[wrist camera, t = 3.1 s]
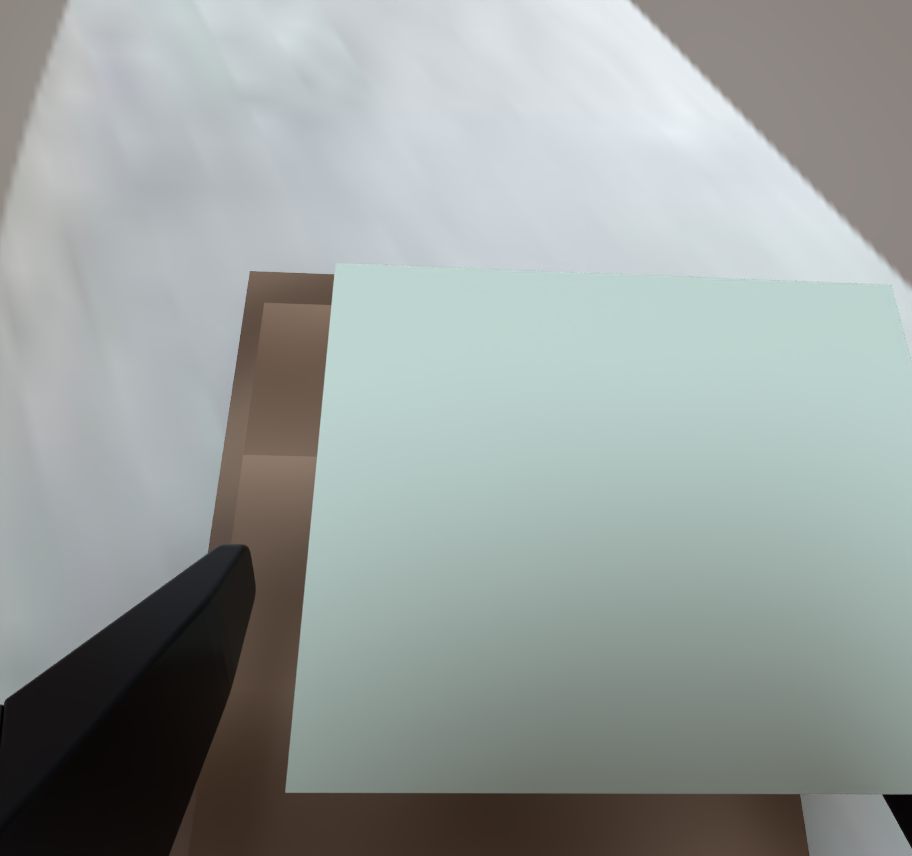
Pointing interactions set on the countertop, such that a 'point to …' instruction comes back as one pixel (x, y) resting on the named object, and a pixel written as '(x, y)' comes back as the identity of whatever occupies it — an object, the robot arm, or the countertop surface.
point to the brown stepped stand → (276, 656)
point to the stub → (608, 537)
